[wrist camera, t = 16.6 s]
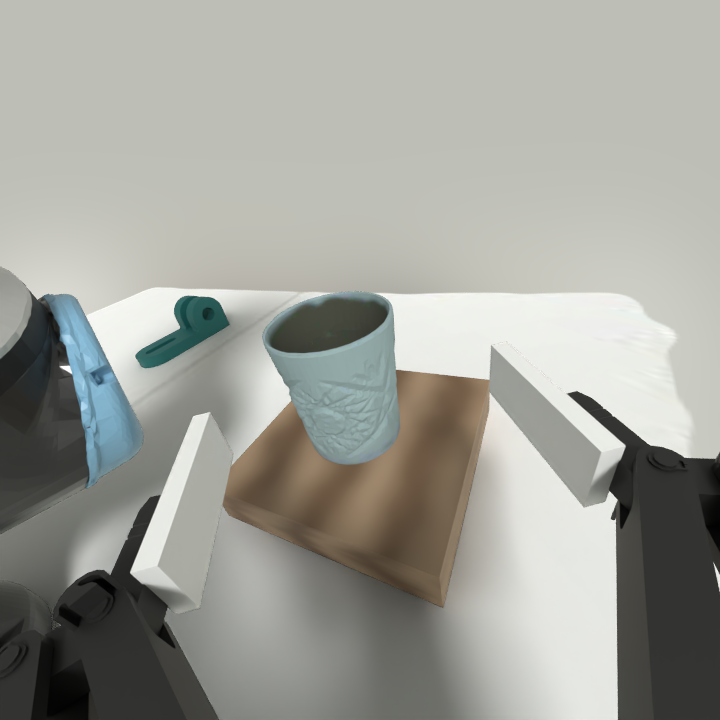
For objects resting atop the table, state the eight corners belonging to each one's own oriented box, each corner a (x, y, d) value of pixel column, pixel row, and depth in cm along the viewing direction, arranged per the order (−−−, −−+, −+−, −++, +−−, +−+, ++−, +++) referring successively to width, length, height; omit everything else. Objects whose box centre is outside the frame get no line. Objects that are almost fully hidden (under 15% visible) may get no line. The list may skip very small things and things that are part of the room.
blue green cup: (373, 385, 37) (352, 282, 31) (434, 434, 29) (422, 310, 23) (289, 428, 34) (247, 322, 27) (333, 497, 26) (287, 371, 20)
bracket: (211, 323, 76) (196, 290, 72) (229, 325, 73) (215, 292, 69) (135, 365, 64) (112, 329, 60) (152, 371, 61) (129, 333, 57)
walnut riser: (229, 515, 31) (211, 488, 29) (333, 386, 45) (326, 362, 43) (443, 607, 22) (439, 577, 20) (489, 409, 36) (489, 380, 34)
